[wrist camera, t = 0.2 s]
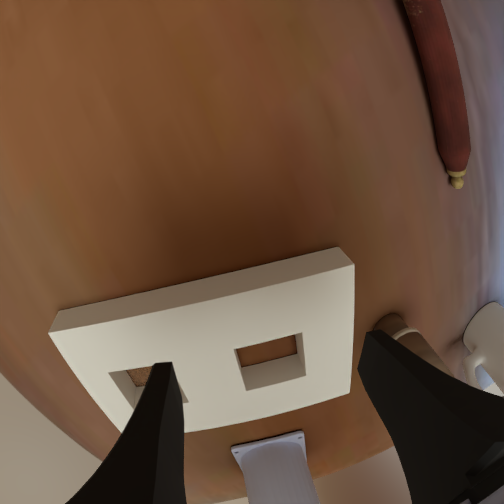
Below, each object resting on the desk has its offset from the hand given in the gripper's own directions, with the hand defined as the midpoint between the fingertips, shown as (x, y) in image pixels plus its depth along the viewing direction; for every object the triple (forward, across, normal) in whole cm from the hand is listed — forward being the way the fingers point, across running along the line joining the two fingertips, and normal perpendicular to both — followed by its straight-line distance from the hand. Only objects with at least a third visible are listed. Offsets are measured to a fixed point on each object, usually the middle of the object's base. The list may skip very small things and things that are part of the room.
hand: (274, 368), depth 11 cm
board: (+10, +2, +8) cm, 13 cm away
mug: (+10, -26, +13) cm, 30 cm away
